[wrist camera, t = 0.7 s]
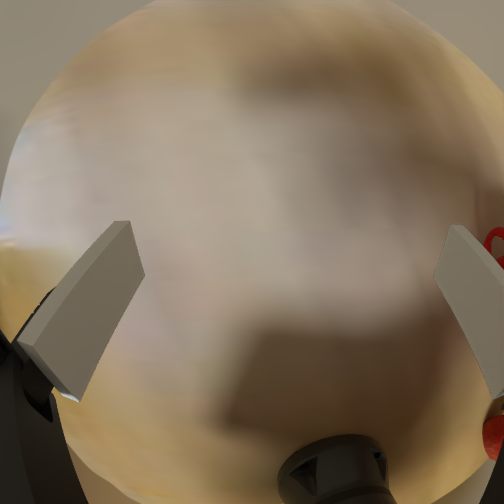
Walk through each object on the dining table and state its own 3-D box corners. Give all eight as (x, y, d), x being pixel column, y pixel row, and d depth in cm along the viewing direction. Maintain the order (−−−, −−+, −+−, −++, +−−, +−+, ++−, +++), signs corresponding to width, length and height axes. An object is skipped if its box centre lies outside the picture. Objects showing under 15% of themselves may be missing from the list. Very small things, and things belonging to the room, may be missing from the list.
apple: (493, 433, 29) (522, 457, 18) (464, 449, 29) (494, 478, 18) (507, 397, 28) (541, 418, 18) (479, 412, 28) (515, 439, 18)
